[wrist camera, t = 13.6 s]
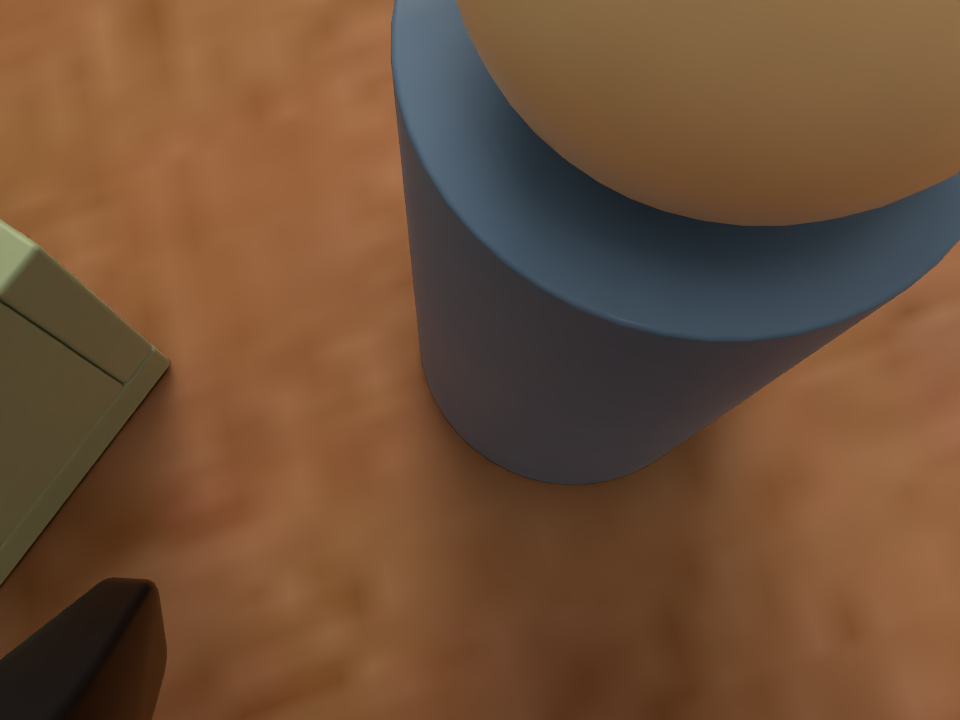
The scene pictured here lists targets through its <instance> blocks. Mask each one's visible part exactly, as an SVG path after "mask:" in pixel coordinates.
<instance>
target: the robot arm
mask: <svg viewBox="0 0 960 720" xmlns="http://www.w3.org/2000/svg"><path fill="white" fill-rule="evenodd" d="M166 657H167V646H166V639H165V632H164V625H163V618H162V611H161V604H160V597H159V592H158V589H157V587H156V585H155V583H154V582H152V581H150V580H147V579H131V578H108V579H105V580H103V581H101V582H100V583H98V584H97V585H96V586H94V587H93V588H92V589H91V590H89V591H88V592H87V593H85V594H84V595H83V596H82V597H80V598H79V599H78V600H76V601H75V602H74V603H73V604H71V605H70V606H69V607H67V608H66V609H65V610H64V611H62V612H61V613H60V614H59V615H57V616H56V617H55V618H53V619H52V620H51V621H50V622H48V623H47V624H46V625H44V626H43V627H42V628H41V629H39V630H38V631H37V632H36V633H34V634H33V635H32V636H30V637H29V638H28V639H27V640H25V641H24V642H23V643H21V644H20V645H19V646H18V647H16V648H15V649H14V650H12V651H11V652H10V653H9V654H7V655H6V656H5V657H4V658H2V659H1V660H0V720H152V717H153V714H154V710H155V706H156V702H157V699H158V695H159V691H160V688H161V684H162V680H163V676H164V672H165V666H166Z"/></svg>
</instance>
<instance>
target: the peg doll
mask: <svg viewBox="0 0 960 720" xmlns="http://www.w3.org/2000/svg"><path fill="white" fill-rule="evenodd" d="M391 65H392V75H393V85H394V95H395V105H396V115H397V125H398V135H399V144H400V154H401V164H402V174H403V184H404V194H405V204H406V214H407V224H408V234H409V244H410V253H411V263H412V273H413V283H414V293H415V303H416V313H417V323H418V333H419V343H420V351H421V358H422V365H423V368H424V372H425V376H426V379H427V383H428V385H429V388H430V390H431V392H432V395H433V397H434V399H435V401H436V403H437V405H438V406H439V408H440V410H441V411H442V413H443V415H444V416H445V418H446V419H447V421H448V422H449V423H450V424H451V426H452V427H453V428H454V429H455V431H456V432H457V433H458V434H459V435H460V436H461V437H462V438H463V439H464V440H465V441H466V442H467V443H468V444H469V445H470V446H471V447H472V448H474V449H475V450H476V451H478V452H479V453H480V454H482V455H483V456H484V457H486V458H487V459H488V460H490V461H492V462H494V463H496V464H497V465H499V466H501V467H503V468H504V469H506V470H509V471H511V472H514V473H516V474H519V475H521V476H524V477H527V478H531V479H535V480H539V481H543V482H548V483H556V484H565V485H575V484H592V483H599V482H606V481H609V480H613V479H616V478H620V477H623V476H626V475H628V474H631V473H633V472H635V471H637V470H640V469H642V468H644V467H646V466H647V465H649V464H650V463H652V462H654V461H655V460H657V459H659V458H660V457H662V456H663V455H665V454H666V453H668V452H669V451H670V450H672V449H673V448H675V447H676V446H678V445H679V444H681V443H682V442H684V441H685V440H687V439H688V438H690V437H691V436H692V435H694V434H695V433H697V432H698V431H700V430H701V429H703V428H704V427H706V426H707V425H709V424H710V423H711V422H713V421H714V420H716V419H717V418H719V417H720V416H722V415H723V414H725V413H726V412H728V411H729V410H731V409H732V408H733V407H735V406H736V405H738V404H739V403H741V402H742V401H744V400H745V399H747V398H748V397H750V396H751V395H753V394H754V393H755V392H757V391H758V390H760V389H761V388H763V387H764V386H766V385H767V384H769V383H770V382H772V381H773V380H774V379H776V378H777V377H779V376H780V375H782V374H783V373H785V372H786V371H788V370H789V369H791V368H792V367H794V366H795V365H796V364H798V363H799V362H801V361H802V360H804V359H805V358H807V357H808V356H810V355H811V354H813V353H814V352H816V351H817V350H818V349H820V348H821V347H823V346H824V345H826V344H827V343H829V342H830V341H832V340H833V339H835V338H836V337H838V336H839V335H840V334H842V333H843V332H845V331H846V330H848V329H849V328H851V327H852V326H854V325H855V324H857V323H858V322H859V321H861V320H862V319H864V318H865V317H867V316H868V315H870V314H871V313H873V312H874V311H876V310H877V309H879V308H880V307H881V306H883V305H884V304H886V303H887V302H889V301H890V300H892V299H893V298H895V297H896V296H898V295H899V294H901V293H902V292H903V291H905V290H906V289H908V288H909V287H910V286H912V285H913V284H914V283H915V282H916V281H918V280H919V279H920V278H921V277H922V276H924V275H925V274H926V273H927V272H928V271H930V270H931V269H932V268H933V267H934V266H936V265H937V264H938V263H939V262H940V261H941V260H942V259H943V257H944V256H945V255H946V254H947V253H948V252H949V251H950V250H951V248H952V247H953V246H954V245H955V244H956V243H957V242H958V241H959V239H960V0H395V3H394V10H393V16H392V22H391Z"/></svg>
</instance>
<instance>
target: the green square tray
mask: <svg viewBox="0 0 960 720" xmlns="http://www.w3.org/2000/svg"><path fill="white" fill-rule="evenodd" d="M169 365H170V361H169V359H168V358H167V357H166V356H165V355H163V354H162V353H161V352H160V351H159V350H158V349H157V348H155V347H154V346H153V345H152V344H150V342H149V341H147V340H146V339H145V338H144V337H143V336H142V335H141V334H140V333H138V332H137V331H136V330H135V329H134V328H133V327H132V326H130V325H129V324H128V323H127V322H126V321H125V320H124V319H123V318H121V317H120V316H119V315H118V314H117V313H116V312H115V311H113V310H112V309H111V308H110V307H109V306H108V305H107V304H106V303H104V302H103V301H102V300H101V299H100V298H99V297H98V296H96V295H95V294H94V293H93V292H92V291H91V290H90V289H89V288H87V287H86V286H85V285H84V284H83V283H82V282H81V281H79V280H78V279H77V278H76V277H75V276H74V275H73V274H72V273H70V272H69V271H68V270H67V269H66V268H65V267H64V266H62V265H61V264H60V263H59V262H58V261H57V260H56V259H55V258H53V257H52V256H51V255H50V254H49V253H48V252H47V251H45V250H44V249H43V248H42V247H41V246H40V245H39V244H37V243H36V242H34V241H33V240H31V239H30V238H28V237H27V236H25V235H24V234H22V233H21V232H19V231H18V230H16V229H15V228H13V227H12V226H10V225H9V224H7V223H5V222H4V221H2V220H1V219H0V585H1V584H2V583H3V581H4V580H5V579H6V578H7V576H8V575H9V574H10V572H11V571H12V570H13V568H14V567H15V566H16V564H17V563H18V562H19V561H20V559H21V558H22V557H23V555H24V554H25V553H26V551H27V550H28V549H29V548H30V546H31V545H32V544H33V542H34V541H35V540H36V538H37V537H38V536H39V535H40V533H41V532H42V531H43V529H44V528H45V527H46V525H47V524H48V523H49V521H50V520H51V519H52V518H53V516H54V515H55V514H56V512H57V511H58V510H59V508H60V507H61V506H62V505H63V503H64V502H65V501H66V499H67V498H68V497H69V495H70V494H71V493H72V492H73V490H74V489H75V488H76V486H77V485H78V484H79V482H80V481H81V480H82V478H83V477H84V476H85V475H86V473H87V472H88V471H89V469H90V468H91V467H92V465H93V464H94V463H95V462H96V460H97V459H98V458H99V456H100V455H101V454H102V452H103V451H104V450H105V449H106V447H107V446H108V445H109V443H110V442H111V441H112V439H113V438H114V437H115V435H116V434H117V433H118V432H119V430H120V429H121V428H122V426H123V425H124V424H125V422H126V421H127V420H128V419H129V417H130V416H131V415H132V413H133V412H134V411H135V409H136V408H137V407H138V406H139V404H140V403H141V402H142V400H143V399H144V398H145V396H146V395H147V394H148V392H149V391H150V390H151V389H152V387H153V386H154V385H155V383H156V382H157V381H158V379H159V378H160V377H161V376H162V374H163V373H164V372H165V370H166V369H167V368H168V366H169Z"/></svg>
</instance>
